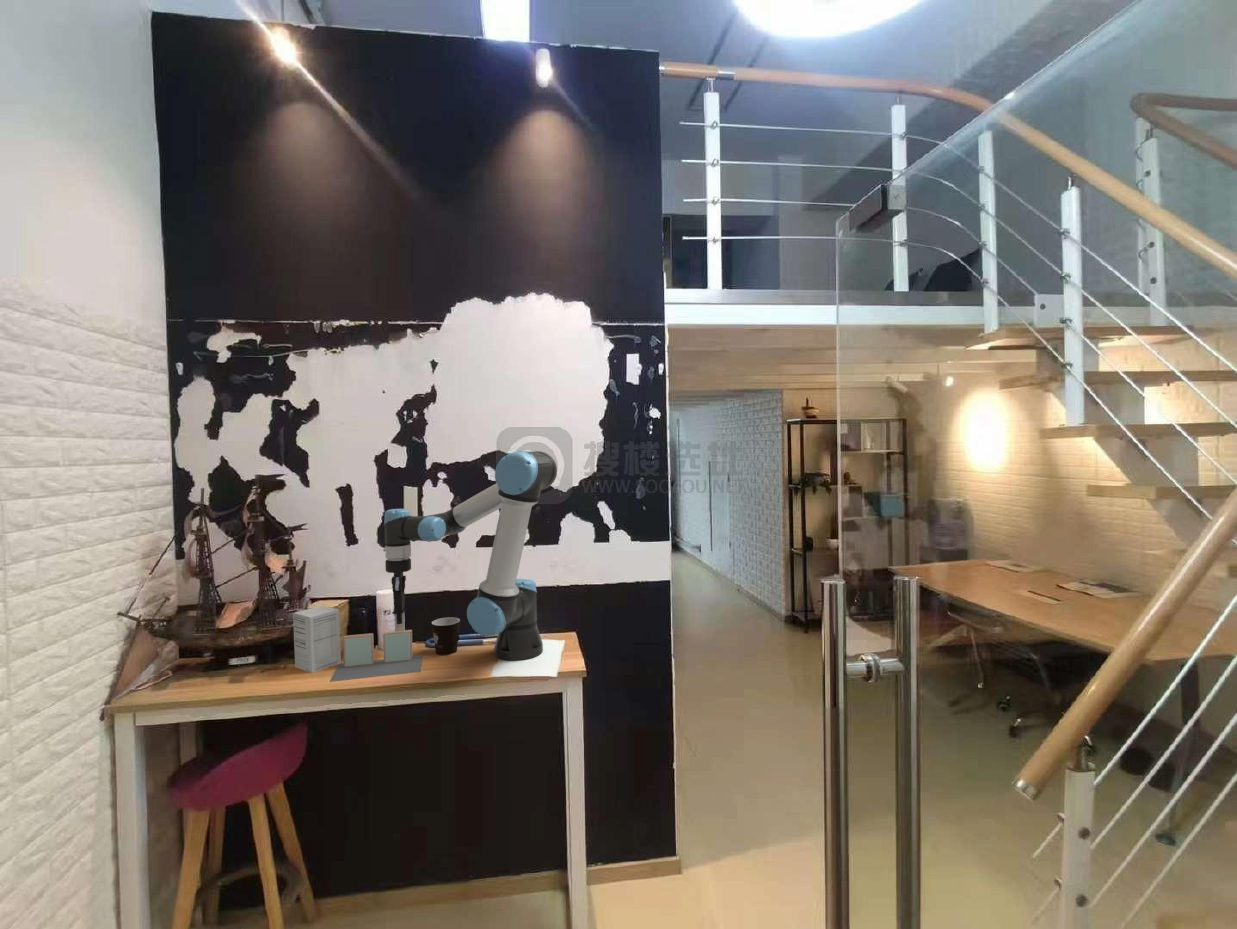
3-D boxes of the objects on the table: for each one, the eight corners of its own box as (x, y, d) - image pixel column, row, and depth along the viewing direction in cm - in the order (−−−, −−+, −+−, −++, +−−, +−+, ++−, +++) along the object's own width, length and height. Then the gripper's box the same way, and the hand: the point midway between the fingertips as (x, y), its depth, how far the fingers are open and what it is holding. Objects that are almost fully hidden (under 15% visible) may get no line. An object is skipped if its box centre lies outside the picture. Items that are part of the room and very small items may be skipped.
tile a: (412, 658, 180) (411, 629, 179) (412, 660, 178) (411, 631, 178) (384, 661, 178) (383, 632, 177) (383, 663, 176) (383, 633, 176)
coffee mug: (432, 649, 189) (431, 619, 188) (459, 646, 191) (459, 616, 191) (432, 662, 178) (431, 629, 177) (461, 658, 180) (461, 626, 180)
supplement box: (324, 658, 182) (323, 604, 182) (342, 664, 177) (340, 608, 177) (293, 668, 174) (291, 612, 174) (311, 674, 169) (309, 616, 169)
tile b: (374, 662, 177) (373, 633, 177) (373, 664, 175) (372, 634, 175) (345, 665, 175) (344, 635, 174) (344, 667, 173) (343, 637, 173)
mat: (423, 656, 183) (423, 655, 183) (420, 673, 169) (420, 671, 169) (339, 665, 176) (339, 663, 176) (329, 683, 163) (329, 681, 163)
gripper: (387, 555, 189) (389, 628, 190) (382, 563, 176) (384, 640, 177) (412, 554, 191) (414, 625, 192) (409, 561, 178) (411, 638, 179)
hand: (400, 632), depth 184 cm, fingers closed
